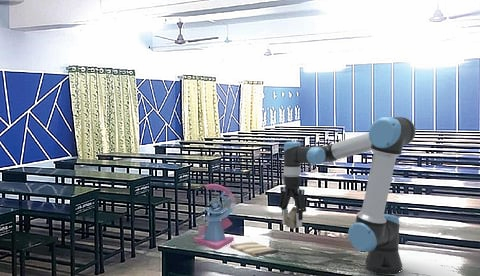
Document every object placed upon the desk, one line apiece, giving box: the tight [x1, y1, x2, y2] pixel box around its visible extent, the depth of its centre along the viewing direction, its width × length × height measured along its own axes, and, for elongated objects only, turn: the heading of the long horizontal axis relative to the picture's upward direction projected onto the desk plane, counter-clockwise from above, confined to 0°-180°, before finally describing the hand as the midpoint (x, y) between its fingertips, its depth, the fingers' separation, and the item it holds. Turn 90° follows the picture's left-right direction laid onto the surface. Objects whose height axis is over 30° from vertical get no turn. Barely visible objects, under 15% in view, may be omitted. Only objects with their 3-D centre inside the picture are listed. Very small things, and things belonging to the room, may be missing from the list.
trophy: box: [193, 183, 237, 251], centre depth 248 cm, size 20×17×30 cm
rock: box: [284, 206, 298, 230], centre depth 230 cm, size 12×7×10 cm, turn 152°
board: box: [229, 240, 279, 258], centre depth 242 cm, size 20×14×1 cm
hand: (292, 225), depth 231 cm, fingers closed on rock, 9 cm apart
